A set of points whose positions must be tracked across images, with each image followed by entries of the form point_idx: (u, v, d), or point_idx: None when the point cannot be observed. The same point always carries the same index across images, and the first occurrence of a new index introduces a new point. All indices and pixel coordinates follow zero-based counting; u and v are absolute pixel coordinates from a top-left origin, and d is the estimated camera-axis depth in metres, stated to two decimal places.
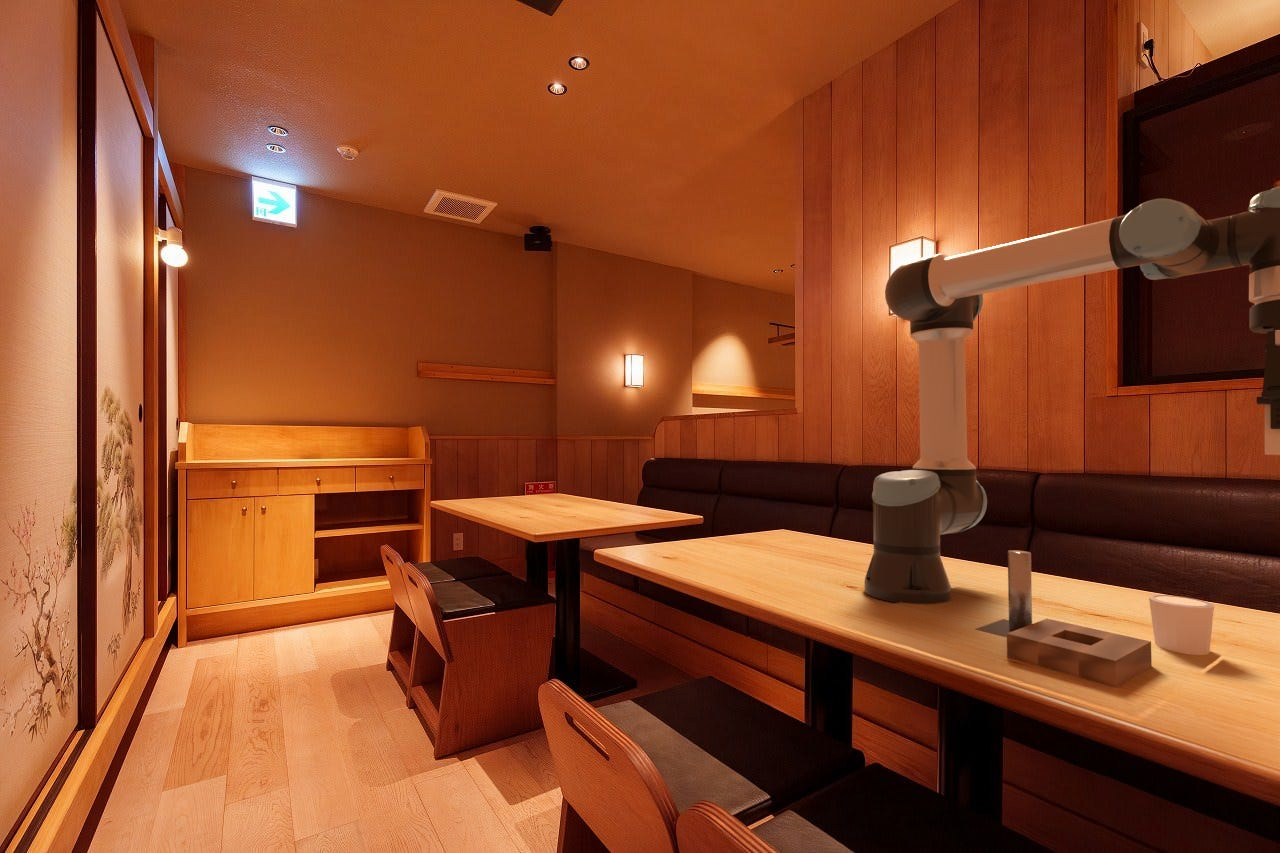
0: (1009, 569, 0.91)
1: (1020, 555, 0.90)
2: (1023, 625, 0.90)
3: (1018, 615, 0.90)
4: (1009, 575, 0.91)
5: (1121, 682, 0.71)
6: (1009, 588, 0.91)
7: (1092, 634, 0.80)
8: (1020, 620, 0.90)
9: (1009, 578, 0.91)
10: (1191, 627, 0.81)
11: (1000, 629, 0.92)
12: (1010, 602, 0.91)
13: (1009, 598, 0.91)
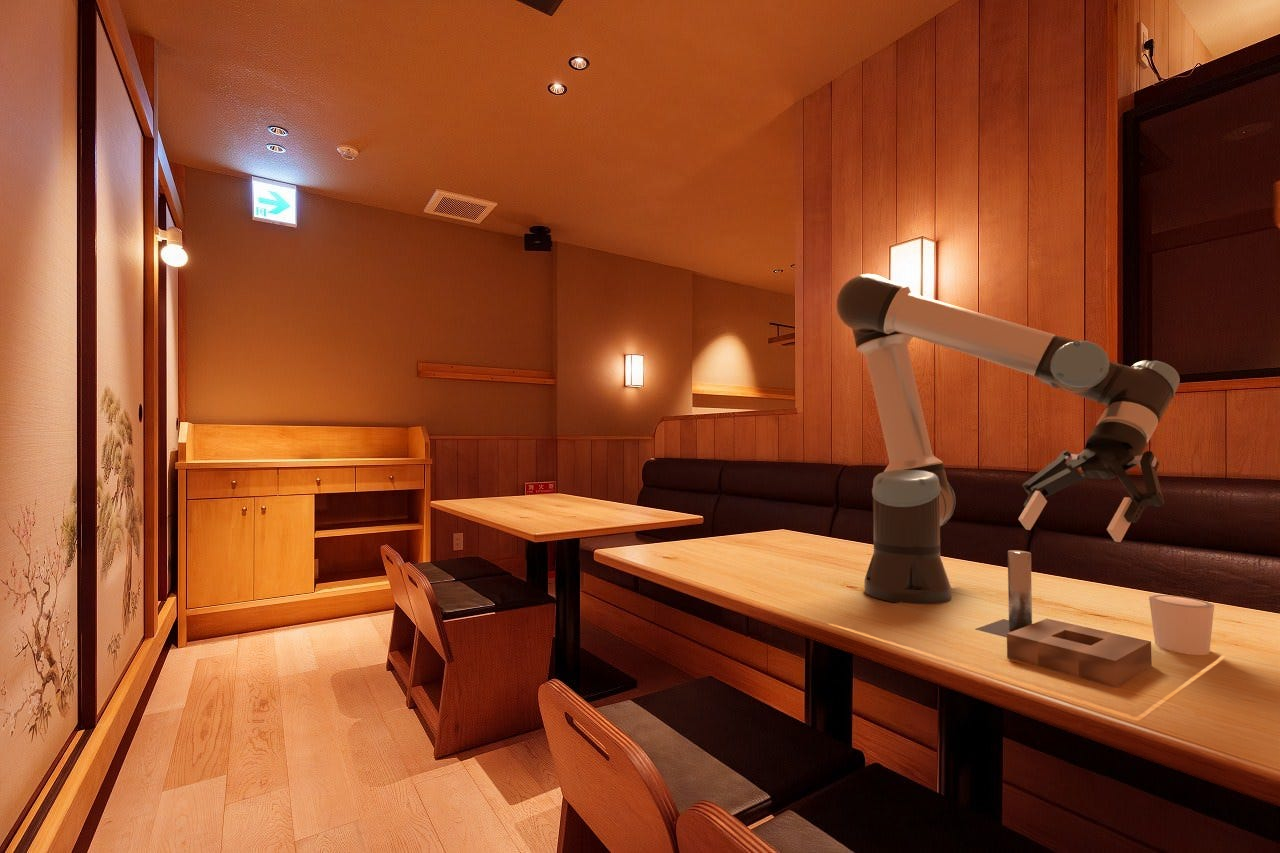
0: (1009, 569, 0.91)
1: (1020, 555, 0.90)
2: (1023, 625, 0.90)
3: (1018, 615, 0.90)
4: (1009, 575, 0.91)
5: (1121, 682, 0.71)
6: (1009, 588, 0.91)
7: (1092, 634, 0.80)
8: (1020, 620, 0.90)
9: (1009, 578, 0.91)
10: (1191, 627, 0.81)
11: (1000, 629, 0.92)
12: (1010, 602, 0.91)
13: (1009, 598, 0.91)
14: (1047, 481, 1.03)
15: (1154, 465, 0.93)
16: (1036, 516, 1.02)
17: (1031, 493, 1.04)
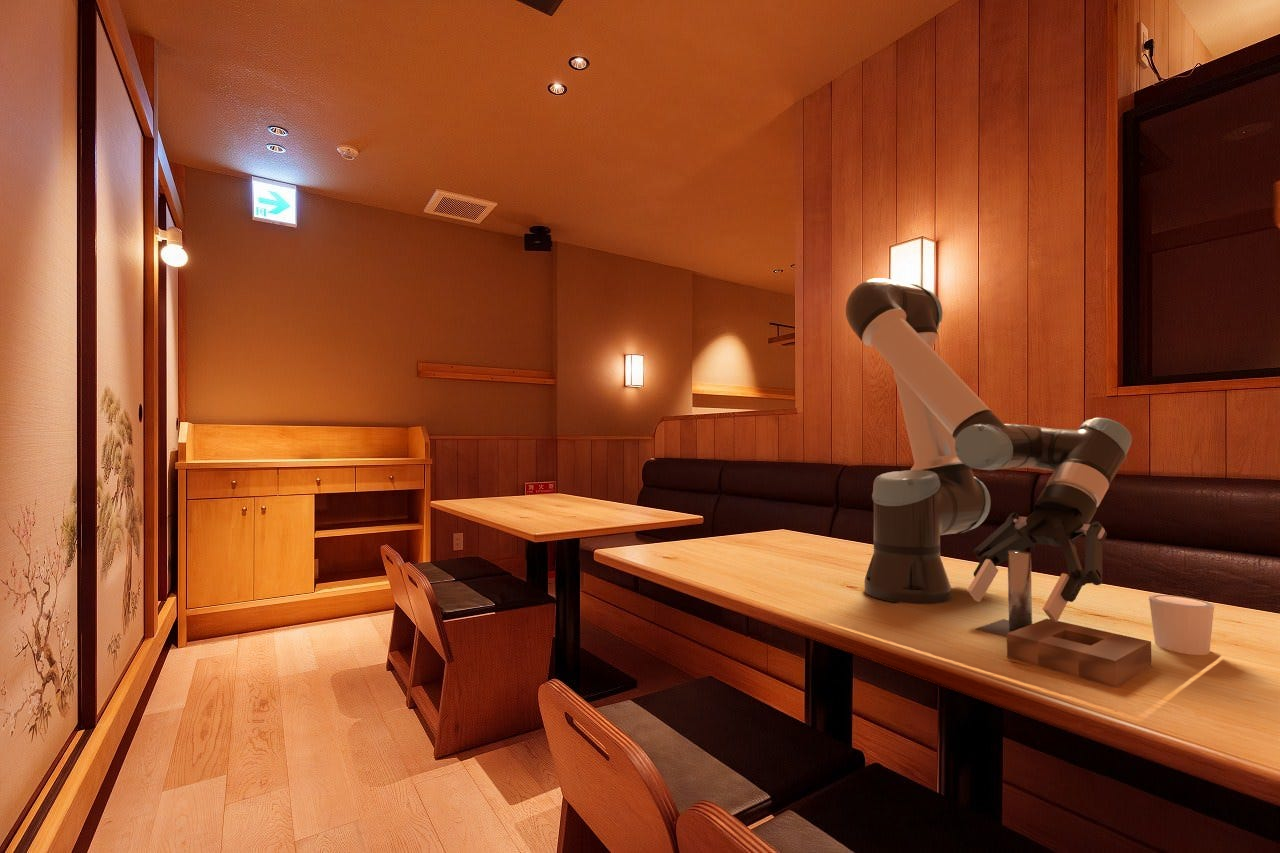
0: (1009, 569, 0.91)
1: (1020, 555, 0.90)
2: (1023, 625, 0.89)
3: (1018, 615, 0.90)
4: (1009, 575, 0.91)
5: (1121, 682, 0.71)
6: (1009, 588, 0.91)
7: (1092, 634, 0.80)
8: (1020, 620, 0.90)
9: (1009, 578, 0.91)
10: (1191, 627, 0.81)
11: (1000, 629, 0.92)
12: (1010, 602, 0.91)
13: (1009, 598, 0.91)
14: (997, 548, 0.97)
15: (1101, 536, 0.88)
16: (986, 587, 0.96)
17: (982, 561, 0.98)
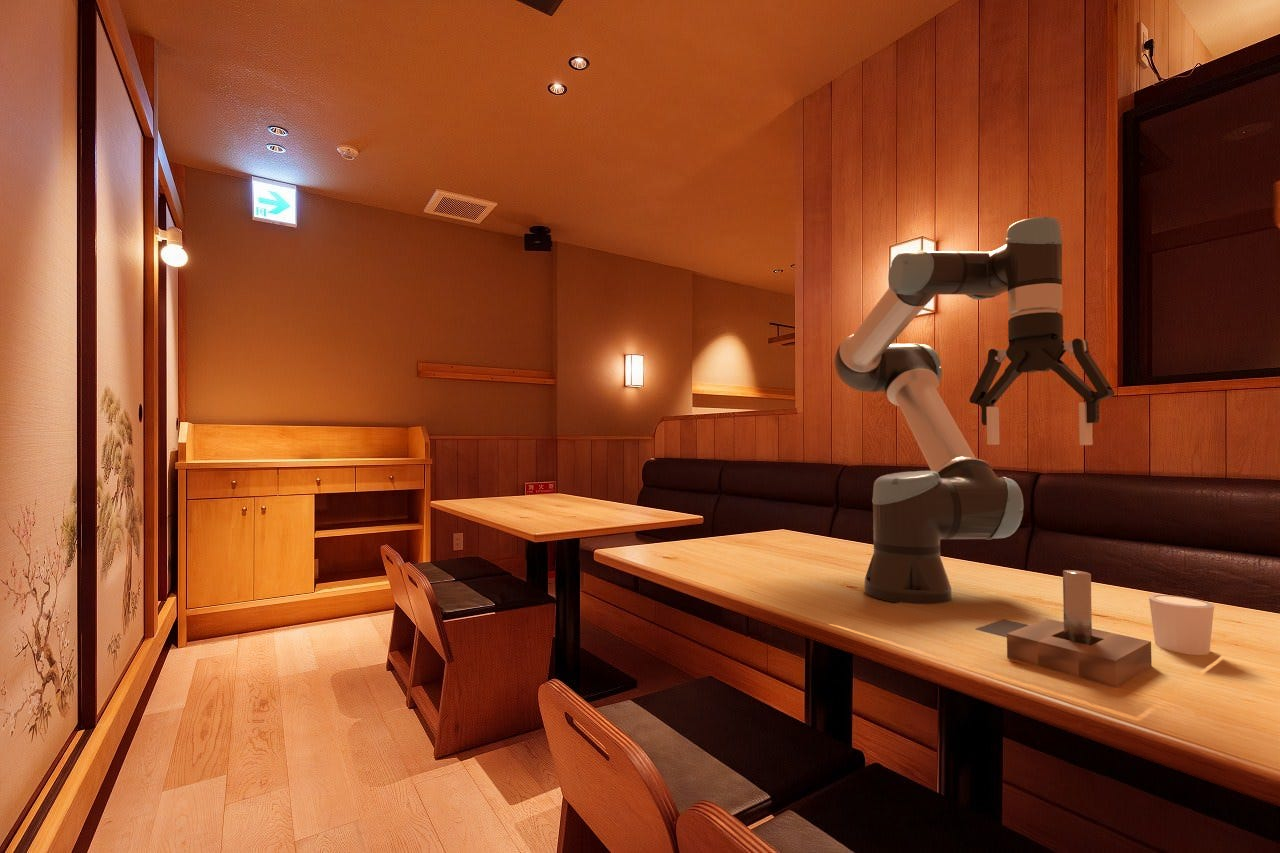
0: (1065, 592, 0.79)
1: (1079, 576, 0.78)
2: None
3: None
4: (1065, 599, 0.79)
5: (1121, 682, 0.71)
6: (1065, 614, 0.79)
7: (1092, 634, 0.80)
8: None
9: (1064, 603, 0.79)
10: (1191, 627, 0.81)
11: (1000, 629, 0.92)
12: (1066, 630, 0.79)
13: (1065, 626, 0.79)
14: (992, 392, 1.02)
15: (1085, 348, 0.92)
16: (998, 428, 1.03)
17: (982, 408, 1.04)
